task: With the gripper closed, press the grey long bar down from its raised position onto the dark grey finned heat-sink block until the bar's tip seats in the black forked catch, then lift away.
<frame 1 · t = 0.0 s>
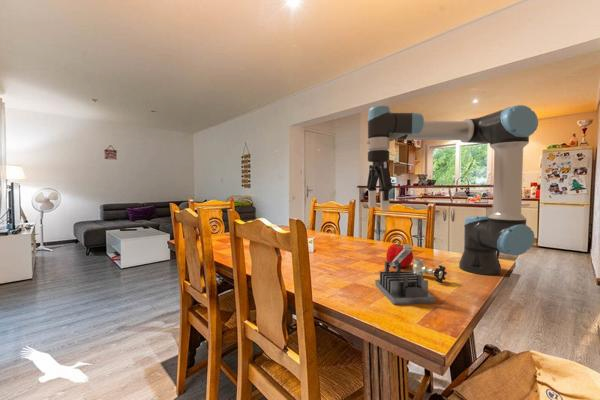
hand: (378, 208, 102), 28 cm above the table, fingers open, 13 cm apart
heatsink: (402, 293, 95), on the table
tomato: (399, 266, 126), on the table
grey long bar: (399, 256, 97), point 12 cm above the table, hinge at 35.0°
valve: (427, 279, 110), on the table
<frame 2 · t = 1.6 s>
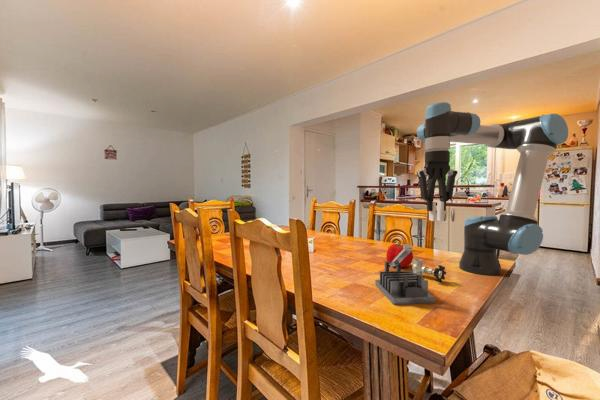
hand: (436, 220, 95), 24 cm above the table, fingers open, 2 cm apart
nothing on the table moved.
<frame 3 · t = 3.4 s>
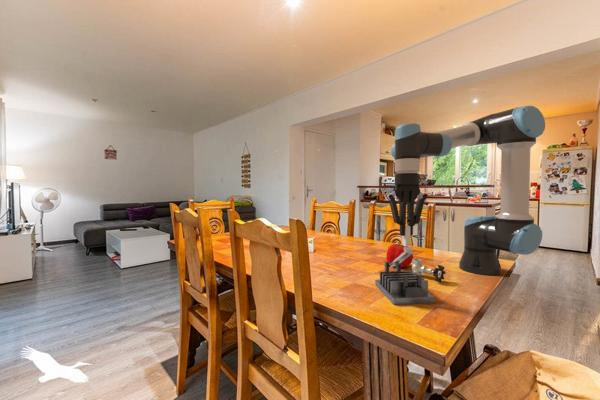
hand: (406, 245, 91), 17 cm above the table, fingers closed
grey long bar: (399, 257, 96), point 12 cm above the table, hinge at 31.6°, touching gripper
everything else where it was.
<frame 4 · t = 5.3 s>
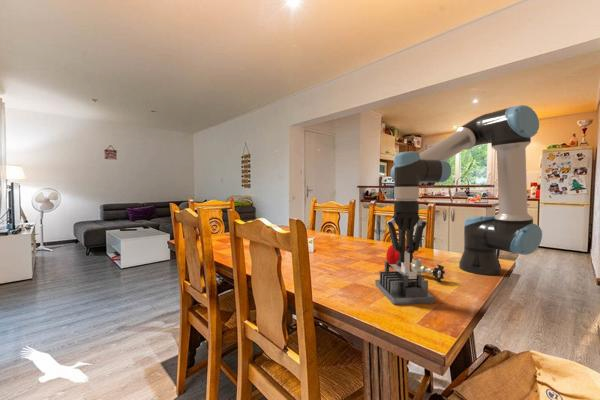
hand: (405, 272, 91), 8 cm above the table, fingers closed
grey long bar: (401, 269, 95), point 8 cm above the table, hinge at 2.9°, touching gripper
everything else where it was.
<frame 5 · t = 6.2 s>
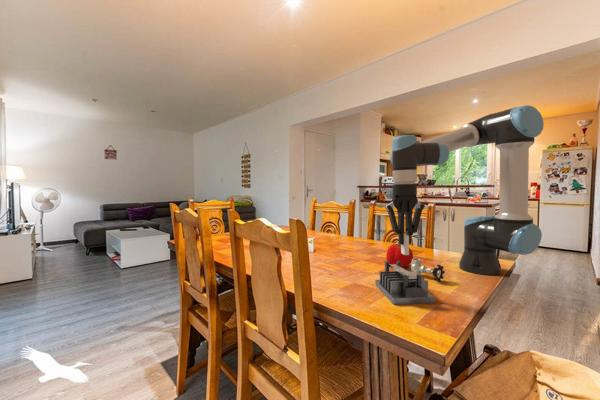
hand: (405, 254, 93), 14 cm above the table, fingers closed
grey long bar: (401, 269, 95), point 8 cm above the table, hinge at 2.9°
everything else where it was.
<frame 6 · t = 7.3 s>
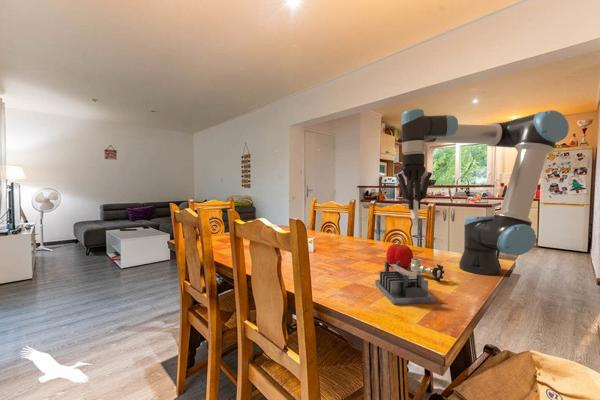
hand: (414, 218, 102), 24 cm above the table, fingers closed
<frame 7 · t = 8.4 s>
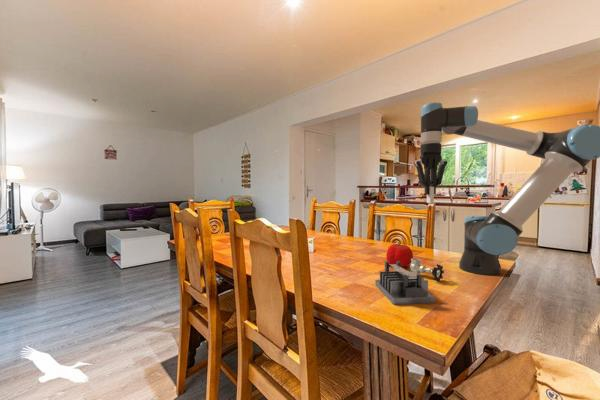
hand: (430, 202, 112), 29 cm above the table, fingers closed
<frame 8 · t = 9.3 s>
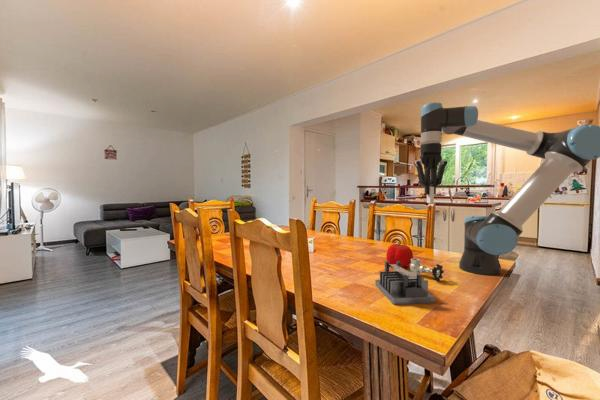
hand: (430, 202, 112), 29 cm above the table, fingers closed
at the end: grey long bar at +3° (first picture: +35°); grey long bar touching nothing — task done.
